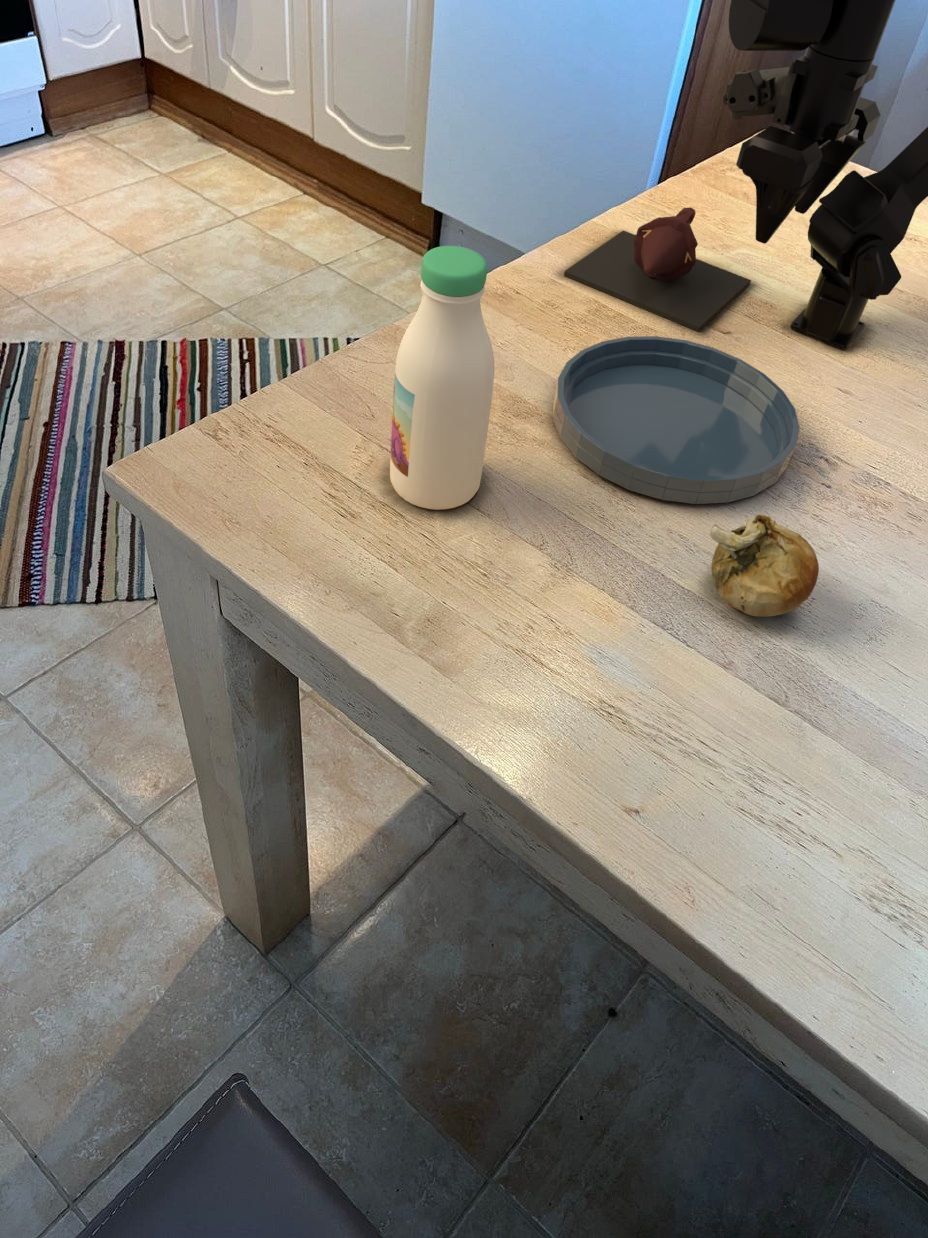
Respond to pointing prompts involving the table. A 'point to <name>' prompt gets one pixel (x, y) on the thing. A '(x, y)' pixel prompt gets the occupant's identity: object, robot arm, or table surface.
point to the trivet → (658, 284)
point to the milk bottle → (443, 385)
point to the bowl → (674, 419)
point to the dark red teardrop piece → (666, 246)
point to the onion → (763, 567)
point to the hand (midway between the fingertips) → (780, 226)
